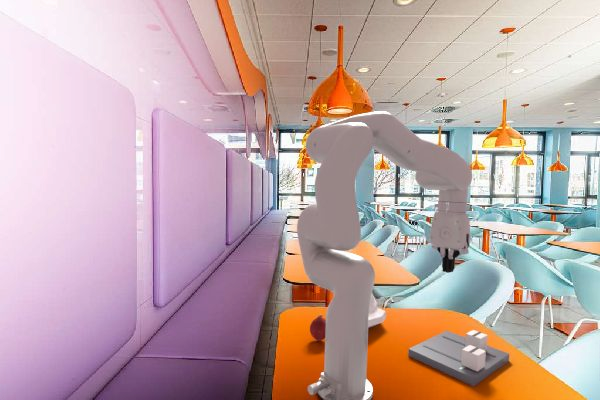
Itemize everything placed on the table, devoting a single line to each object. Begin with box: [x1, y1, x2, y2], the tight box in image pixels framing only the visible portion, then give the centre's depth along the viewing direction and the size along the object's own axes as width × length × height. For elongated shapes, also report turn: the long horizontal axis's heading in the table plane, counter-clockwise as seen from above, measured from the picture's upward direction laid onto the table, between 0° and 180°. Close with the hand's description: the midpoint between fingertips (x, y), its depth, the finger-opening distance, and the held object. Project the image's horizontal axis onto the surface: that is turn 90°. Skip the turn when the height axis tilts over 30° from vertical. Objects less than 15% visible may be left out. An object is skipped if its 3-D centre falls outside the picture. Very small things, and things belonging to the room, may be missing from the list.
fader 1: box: [465, 329, 489, 350], centre depth 100 cm, size 4×4×4 cm
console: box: [408, 330, 510, 387], centre depth 99 cm, size 20×18×2 cm
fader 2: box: [461, 345, 486, 372], centre depth 91 cm, size 4×4×4 cm
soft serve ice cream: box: [368, 292, 387, 329], centre depth 119 cm, size 12×15×14 cm
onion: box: [309, 313, 326, 342], centre depth 107 cm, size 6×6×8 cm
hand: (447, 271), depth 104 cm, fingers closed
